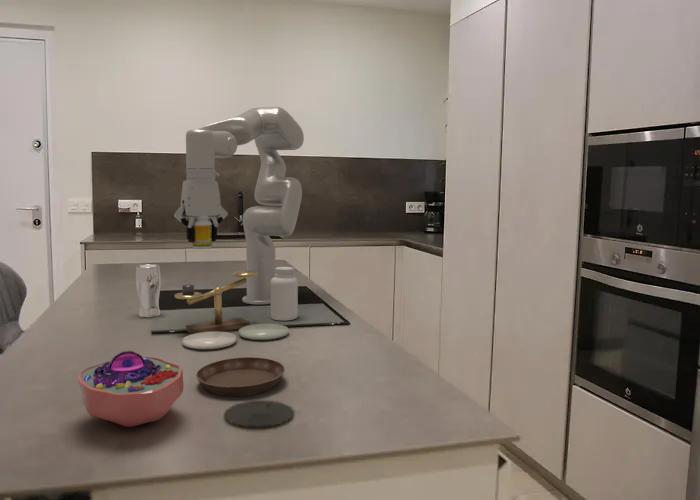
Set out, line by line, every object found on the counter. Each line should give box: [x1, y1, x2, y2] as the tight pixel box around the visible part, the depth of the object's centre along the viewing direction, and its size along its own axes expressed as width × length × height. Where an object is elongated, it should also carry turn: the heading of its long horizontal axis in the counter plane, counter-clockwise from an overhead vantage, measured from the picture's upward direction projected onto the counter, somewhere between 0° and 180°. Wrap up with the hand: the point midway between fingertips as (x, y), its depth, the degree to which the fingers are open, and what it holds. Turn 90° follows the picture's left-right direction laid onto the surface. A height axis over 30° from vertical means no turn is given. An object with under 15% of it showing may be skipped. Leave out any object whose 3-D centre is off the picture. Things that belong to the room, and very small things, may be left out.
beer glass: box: [135, 263, 162, 319], centre depth 178 cm, size 7×7×15 cm
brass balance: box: [174, 270, 258, 335], centre depth 163 cm, size 23×7×15 cm, turn 125°
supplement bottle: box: [191, 215, 213, 250], centre depth 166 cm, size 5×5×10 cm
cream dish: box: [182, 331, 237, 351], centre depth 150 cm, size 13×13×1 cm
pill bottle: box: [270, 266, 299, 322], centre depth 176 cm, size 8×8×15 cm
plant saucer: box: [195, 356, 286, 397], centre depth 122 cm, size 18×18×3 cm
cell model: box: [77, 350, 184, 428], centre depth 103 cm, size 17×20×11 cm
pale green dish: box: [238, 323, 290, 341], centre depth 158 cm, size 13×13×1 cm
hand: (202, 240), depth 166 cm, fingers closed on supplement bottle, 5 cm apart
